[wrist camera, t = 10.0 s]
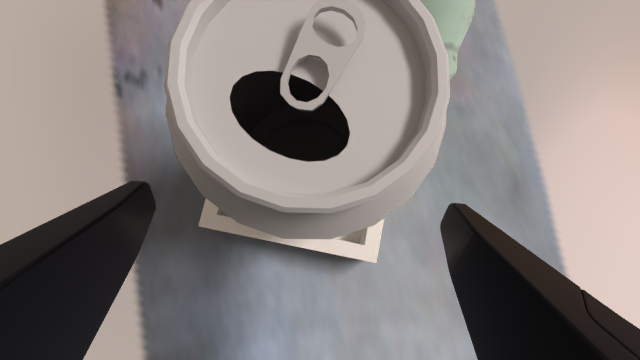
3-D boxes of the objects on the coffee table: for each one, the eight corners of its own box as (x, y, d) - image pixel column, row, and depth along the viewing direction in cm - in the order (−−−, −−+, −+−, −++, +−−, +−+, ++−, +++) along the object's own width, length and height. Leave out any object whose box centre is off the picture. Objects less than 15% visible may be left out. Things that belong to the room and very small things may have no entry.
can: (221, 191, 18) (47, 132, 6) (282, 87, 19) (244, -146, 7) (332, 251, 17) (393, 318, 6) (387, 143, 18) (536, 5, 7)
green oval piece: (356, 14, 20) (381, -89, 13) (412, 2, 20) (464, -103, 14) (388, 123, 19) (434, 72, 13) (447, 109, 20) (521, 52, 13)
